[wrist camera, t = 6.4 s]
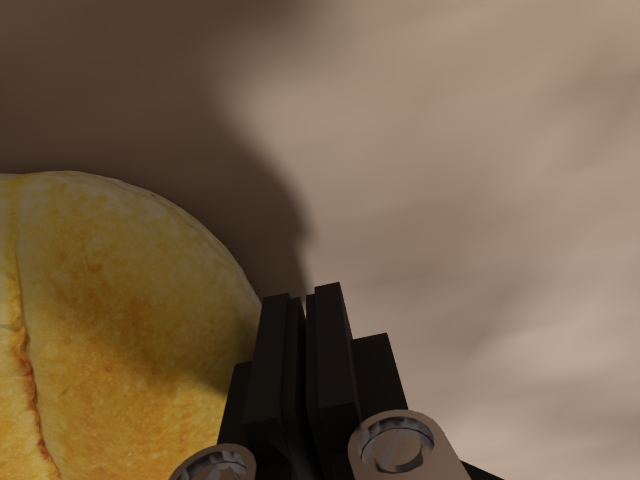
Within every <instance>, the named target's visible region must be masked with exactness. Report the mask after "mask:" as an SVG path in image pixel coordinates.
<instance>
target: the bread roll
mask: <svg viewBox="0 0 640 480" xmlns="http://www.w3.org/2000/svg"><path fill="white" fill-rule="evenodd" d="M261 308H262V305H261V303H260V301H259V299H258V297H257V295H256V293H255V292H254V290H253V288H252V287H251V285H250V283H249V282H248V280H247V278H246V276H245V274H244V272H243V270H242V268H241V267H240V266H239V264H238V263H237V261H236V260H235V259H234V257H233V256H232V255H231V253H230V252H229V251H228V249H227V248H226V247H225V246H224V245H223V244H222V243H221V242H220V241H219V240H218V239H217V238H216V237H215V236H214V235H213V234H212V233H211V232H210V231H209V230H208V229H207V228H206V227H205V226H204V225H202V224H201V223H200V222H199V221H198V220H197V219H196V218H195V217H193V216H192V215H191V214H189V213H188V212H186V211H185V210H184V209H182V208H181V207H179V206H177V205H176V204H174V203H172V202H170V201H169V200H167V199H165V198H163V197H161V196H159V195H157V194H155V193H153V192H151V191H149V190H146V189H143V188H140V187H137V186H134V185H131V184H128V183H125V182H123V181H121V180H118V179H114V178H110V177H109V178H106V177H104V176H102V175H94V174H89V173H85V172H81V171H71V170H66V171H45V172H38V173H28V174H23V175H22V174H0V480H168V479H169V478H170V476H171V474H172V473H173V471H174V470H175V469H176V468H177V467H178V466H179V465H180V464H181V463H182V462H183V461H184V460H186V459H187V458H189V457H190V456H192V455H193V454H195V453H196V452H198V451H200V450H203V449H205V448H207V447H210V446H213V445H216V444H217V439H218V435H219V431H220V426H221V422H222V417H223V413H224V409H225V404H226V400H227V396H228V391H229V387H230V382H231V378H232V374H233V369H234V367H235V365H236V364H237V363H242V362H247V361H251V360H253V354H254V348H255V342H256V337H257V331H258V325H259V319H260V314H261Z"/></svg>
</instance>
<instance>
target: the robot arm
mask: <svg viewBox="0 0 640 480" xmlns="http://www.w3.org/2000/svg"><path fill="white" fill-rule="evenodd" d="M168 480H504V479H501V478H499V477H497V476H495V475H493V474H490V473H488V472H486V471H484V470H481V469H479V468H477V467H475V466H472V465H470V464H468V463H466V462H463V461H461V460H459V458H458V456H457V455H456V453H455V451H454V449H453V448H452V446H451V444H450V443H449V441H448V439H447V438H446V436H445V434H444V432H443V431H442V429H441V428H440V427H439V426H438V424H437V423H436V422H435V421H434V420H433V419H431V418H430V417H428V416H426V415H424V414H423V413H419V412H415V411H412V410H408V406H407V403H406V399H405V395H404V392H403V388H402V385H401V381H400V377H399V374H398V370H397V367H396V363H395V360H394V356H393V352H392V349H391V345H390V342H389V338H388V335H387V333H382V334H377V335H372V336H368V337H363V338H358V339H353V337H352V333H351V329H350V324H349V320H348V316H347V312H346V307H345V303H344V299H343V294H342V290H341V286H340V283H339V282H336V283H331V284H326V285H322V286H317V287H315V294H311V295H306V318H305V314H304V310H303V306H302V303H301V300H300V298H299V297H297V298H292V299H291V297H290V294H289V293H284V294H279V295H275V296H270V297H265V298H263V302H262V308H261V314H260V319H259V325H258V331H257V337H256V342H255V348H254V354H253V360H251V361H247V362H242V363H237V364H236V365H235V367H234V369H233V374H232V378H231V382H230V387H229V391H228V396H227V400H226V404H225V409H224V413H223V417H222V422H221V426H220V431H219V435H218V439H217V444H216V445H213V446H210V447H207V448H205V449H203V450H200V451H198V452H196V453H195V454H193V455H192V456H190V457H189V458H187V459H186V460H184V461H183V462H182V463H181V464H180V465H179V466H178V467H177V468H176V469H175V470H174V471H173V473H172V474H171V476H170V478H169V479H168Z"/></svg>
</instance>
